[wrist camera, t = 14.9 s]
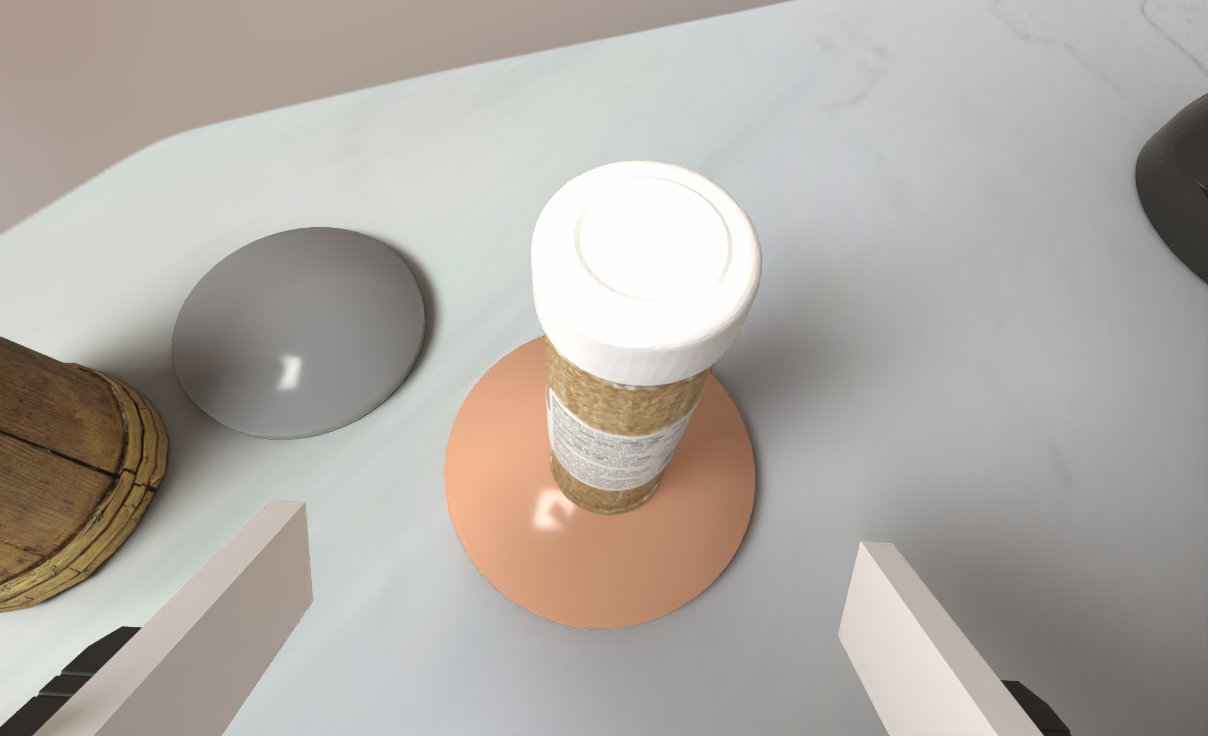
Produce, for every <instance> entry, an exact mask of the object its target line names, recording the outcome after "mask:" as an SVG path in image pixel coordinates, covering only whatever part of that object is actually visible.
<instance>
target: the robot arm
mask: <svg viewBox="0 0 1208 736" xmlns="http://www.w3.org/2000/svg"><path fill="white" fill-rule="evenodd" d="M1136 182H1137V188H1138V192H1139V196H1140V199H1141V202H1142V204H1143V206H1144V209H1145V211H1146V213H1147V215H1148V217H1149V218H1150V220H1151V222H1152V224H1153V225H1154V227H1155V228H1156V230H1157V231H1158V233H1159V234H1160V235H1161V237H1162V238H1163V239H1164V241H1165V242H1166V243H1167V244H1168V245H1169V247H1170V248H1171V249H1172V250H1173V251H1174V252H1175V253H1176V254H1177V255H1178V256H1179V258H1180V259H1181V260H1182V261H1183V262H1185V263H1186V264H1187V265H1188V266H1189V267H1190V268H1191V269H1192V270H1193V271H1194V272H1195V273H1197V274H1198V275H1199V276H1200V277H1201V278H1203V279H1204V280H1205V281H1206V282H1208V94H1206V95H1204V96H1202V97H1200V98H1198V99H1197V100H1195V101H1193V102H1192V103H1190V104H1189V105H1188V106H1186V107H1185V108H1183V109H1182V110H1181V111H1180V112H1179V113H1178V114H1176V115H1175V116H1174V117H1173V118H1172V119H1171V120H1170V121H1169V122H1168V123H1167V124H1166V125H1164V126H1163V127H1162V128H1161V129H1160V130H1159V131H1158V132H1157V133H1156V134H1155V135H1154V136H1152V137H1151V138H1150V139H1149V140H1148V141H1147V143H1146V144H1145V145H1144V147H1143V149H1142V150H1141V152H1140V155H1139V157H1138V161H1137V166H1136ZM312 602H313V596H312V583H311V570H310V557H309V544H308V531H307V518H306V505H305V502H295V501H280V500H271V501H270V502H269V503H268V504H267V505H266V506H265V507H264V508H263V509H262V510H261V511H260V512H259V513H258V514H257V515H256V516H255V517H254V518H253V519H252V520H251V521H250V522H249V523H248V524H247V525H246V526H245V527H244V528H243V529H242V530H241V531H240V532H239V533H238V534H237V535H236V536H235V537H234V538H233V539H232V540H231V541H230V542H229V543H228V544H227V545H226V546H225V547H224V548H223V549H222V550H221V551H220V552H219V553H218V554H217V555H216V556H215V557H214V558H213V559H212V560H211V561H209V562H208V563H207V564H206V565H205V566H204V567H203V568H202V569H201V570H200V571H199V572H198V573H197V574H196V575H195V576H194V577H193V578H192V579H191V580H190V581H189V582H188V583H187V584H186V585H185V586H184V587H183V588H182V589H181V590H180V591H179V592H178V593H177V594H176V595H175V596H174V597H173V598H172V599H171V600H170V601H169V602H168V603H167V604H166V605H165V606H164V607H163V608H162V609H161V610H160V611H159V612H158V613H157V614H156V615H155V616H154V617H153V618H152V619H151V620H150V621H149V622H148V623H146V624H145V625H144V626H143V627H142V628H141V627H125V626H122V627H120V628H119V629H117V630H115V631H114V632H112V633H110V634H108V635H107V636H105V637H103V638H102V639H100V640H98V641H97V642H95V643H93V644H91V645H90V646H88V647H87V648H86V649H85V650H84V651H83V652H82V653H80V654H79V655H78V656H77V657H76V658H75V659H74V660H73V661H72V662H71V663H70V664H69V665H67V666H66V667H65V668H64V669H63V670H62V672H61V675H60V676H55V677H54V678H53V679H52V680H51V681H50V682H49V683H48V684H47V685H46V686H45V687H43V688H42V689H41V690H40V691H39V695H38V696H37V697H33V698H31V699H30V700H29V701H28V702H27V703H26V704H25V705H24V706H23V707H22V708H21V709H19V710H18V711H17V712H16V713H15V714H14V715H13V716H12V717H11V718H10V719H9V720H7V721H6V722H5V723H4V724H3V725H2V726H1V727H0V736H221V735H222V734H223V733H224V731H225V730H226V728H227V727H228V725H229V724H230V722H231V721H232V719H233V718H234V716H235V715H236V713H237V712H238V710H239V709H240V708H241V706H242V705H243V703H244V702H245V700H246V699H247V697H248V696H249V694H250V693H251V691H252V690H253V688H254V687H255V685H256V684H257V683H258V681H259V680H260V678H261V677H262V675H263V674H264V672H265V671H266V669H267V668H268V666H269V665H270V663H271V662H272V660H273V659H274V657H275V656H276V655H277V653H278V652H279V650H280V649H281V647H282V646H283V644H284V643H285V641H286V640H287V638H288V637H289V635H290V634H291V632H292V631H293V630H294V628H295V627H296V625H297V624H298V622H299V621H300V619H301V618H302V616H303V615H304V613H305V612H306V610H307V609H308V607H309V606H310V604H311V603H312ZM838 637H839V638H840V640H841V642H842V644H843V646H844V648H845V650H846V652H847V654H848V656H849V658H850V660H851V662H852V664H853V666H854V668H855V670H856V672H857V674H858V676H859V678H860V680H861V681H862V683H863V685H864V687H865V689H866V691H867V693H868V695H869V697H870V699H871V701H872V703H873V705H874V707H875V709H876V711H877V713H878V715H879V717H880V719H881V721H882V723H883V725H884V726H885V728H886V730H887V732H888V734H889V736H1071V734H1070V730H1069V729H1068V728H1067V727H1066V725H1065V724H1064V723H1063V722H1062V721H1061V719H1060V718H1059V717H1058V716H1057V715H1056V714H1055V712H1054V711H1053V710H1052V709H1051V708H1050V706H1049V705H1048V704H1047V703H1045V702H1044V701H1043V700H1041V699H1040V698H1039V697H1038V696H1036V695H1035V694H1034V693H1033V692H1031V691H1030V690H1029V689H1027V688H1026V687H1025V686H1024V685H1022V684H1021V683H1020V682H1019V681H1004V680H1000V679H999V678H998V677H997V676H996V674H995V673H994V672H993V671H992V669H991V668H990V667H989V665H988V664H987V663H986V662H985V660H984V659H983V658H982V657H981V655H980V654H979V653H978V651H977V650H976V649H975V648H974V646H973V645H972V644H971V643H970V641H969V640H968V639H967V638H966V636H965V635H964V634H963V632H962V631H961V630H960V629H959V627H958V626H957V625H956V624H955V622H954V621H953V620H952V618H951V617H950V616H949V615H948V613H947V612H946V611H945V610H944V608H943V607H942V606H941V604H940V603H939V602H938V601H937V599H936V598H935V597H934V596H933V594H932V593H931V592H930V591H929V589H928V588H927V587H926V585H925V584H924V583H923V582H922V580H921V579H920V578H919V577H918V575H917V574H916V573H915V571H914V570H913V569H912V568H911V566H910V565H909V564H908V563H907V561H906V560H905V559H904V557H903V556H902V555H901V554H900V552H899V551H898V550H897V549H896V547H895V546H894V545H893V543H886V542H871V541H860V545H859V549H858V553H857V557H856V562H855V566H854V570H853V574H852V578H851V582H850V586H849V591H848V595H847V599H846V603H845V607H844V611H843V616H842V620H841V624H840V628H839V632H838Z"/></svg>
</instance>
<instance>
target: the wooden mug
mask: <svg viewBox="0 0 1208 736" xmlns="http://www.w3.org/2000/svg"><path fill="white" fill-rule="evenodd" d="M167 447H168V438H167V435H166V432H165V429H164V426H163V423H162V420H161V417H160V415H159V414H158V413H157V411H156V410H155V408H154V407H153V405H152V404H151V403H150V401H149V400H148V398H147V397H146V396H144V395H143V394H142V393H140V392H139V391H137V390H136V389H135V388H133V387H132V386H130V385H129V384H127V383H125V382H123V381H120V380H118V379H116V378H113V377H111V376H108V375H106V374H104V373H101V372H99V371H96V370H94V369H91V368H88V367H85V366H82V365H79V364H76V363H62V362H60V361H58V360H55V359H53V358H51V357H48V356H46V355H43V354H41V353H39V352H36V351H34V350H31V349H29V348H27V347H24V346H22V345H20V344H17V343H15V342H12V341H10V340H8V339H5V338H3V337H0V613H1V612H7V611H13V610H18V609H24V608H30V607H32V606H34V605H36V604H38V603H40V602H42V601H44V600H45V599H47V598H49V597H51V596H53V595H55V594H57V593H59V592H61V591H63V590H64V589H66V588H68V587H70V586H72V585H74V584H76V583H78V582H80V581H82V580H83V579H85V578H87V577H88V576H89V575H90V574H91V573H92V572H93V571H94V570H95V569H96V568H97V567H98V566H99V565H100V564H101V563H102V562H104V561H105V560H106V559H107V558H109V557H110V556H111V555H112V554H113V553H115V551H116V550H117V549H118V548H119V547H120V546H121V545H122V544H123V542H124V541H125V540H126V539H127V538H128V537H129V536H130V534H131V533H132V532H133V531H134V529H135V528H136V526H137V524H138V523H139V521H140V519H141V518H142V516H143V514H144V513H145V511H146V509H147V507H148V506H149V504H150V502H151V501H152V499H153V497H154V494H155V492H156V490H157V488H158V486H159V483H160V481H161V479H162V477H163V475H164V472H165V464H166V455H167Z"/></svg>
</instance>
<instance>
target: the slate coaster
mask: <svg viewBox="0 0 1208 736" xmlns="http://www.w3.org/2000/svg"><path fill="white" fill-rule="evenodd" d="M425 325H426V323H425V309H424V304H423V299H422V296H421V294H420V291H419V288H418V286H417V283H416V281H415V278H414V276H413V275H412V273H411V271H410V269H409V268H408V266H407V265H406V264H405V263H404V261H403V260H402V259H401V258H400V257H399V256H398V255H397V254H396V253H395V252H394V251H393V250H391V249H390V248H388V247H387V246H385V245H384V244H383V243H381V242H379V241H377V240H375V239H373V238H371V237H369V236H366V235H363V234H360V233H358V232H354V231H349V230H345V229H338V228H330V227H311V228H300V229H294V230H288V231H284V232H280V233H276V234H273V235H269V236H267V237H264V238H261V239H259V240H256V241H254V242H252V243H250V244H248V245H246V246H244V247H242V248H240V249H238V250H237V251H235V252H234V253H232V254H230V255H229V256H227V257H226V258H225V259H223V260H222V261H221V262H219V263H218V264H217V265H215V266H214V267H213V268H212V269H211V270H210V271H209V272H208V273H207V274H206V275H205V276H204V277H203V278H202V279H201V280H200V281H199V282H198V284H197V285H196V286H195V287H194V288H193V290H192V291H191V293H190V294H189V296H188V297H187V299H186V300H185V302H184V304H183V306H182V308H181V310H180V312H179V315H178V318H177V321H176V324H175V327H174V332H173V338H172V359H173V365H174V369H175V372H176V375H177V378H178V381H179V382H180V384H181V386H182V388H183V389H184V391H185V393H186V394H187V395H188V396H189V398H190V399H191V400H192V401H193V402H194V403H195V404H196V405H197V406H198V407H199V408H201V409H202V410H203V411H204V412H205V413H207V414H208V415H209V416H211V417H212V418H213V419H215V420H216V421H218V422H220V423H221V424H223V425H225V426H226V427H228V428H230V429H233V430H235V431H238V432H240V433H242V434H246V435H250V436H254V437H258V438H266V439H299V438H307V437H312V436H316V435H320V434H325V433H328V432H331V431H333V430H336V429H339V428H342V427H344V426H346V425H348V424H350V423H352V422H354V421H356V420H358V419H360V418H362V417H363V416H365V415H366V414H368V413H369V412H371V411H373V410H374V409H375V408H376V407H378V406H379V405H380V404H382V403H383V402H384V401H385V400H386V399H387V398H388V397H389V396H390V395H391V394H392V393H393V392H394V391H395V390H396V389H397V388H398V387H399V386H400V385H401V383H402V382H403V381H404V379H405V378H406V377H407V375H408V374H409V372H410V370H411V369H412V367H413V366H414V364H415V362H416V359H417V357H418V355H419V352H420V350H421V346H422V343H423V339H424V333H425Z"/></svg>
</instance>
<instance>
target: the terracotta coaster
mask: <svg viewBox="0 0 1208 736" xmlns="http://www.w3.org/2000/svg"><path fill="white" fill-rule="evenodd" d="M545 353H546V345H545V336H542V337H539V338H537V339H534V340H532V341H530V342H528V343H526V344H524V345H522V346H520V347H519V348H517V349H515V350H514V351H512V352H511V353H509V354H508V355H506V356H505V357H503V358H502V359H501V360H500V361H499V362H497V363H496V364H495V365H494V366H493V367H491V368H490V369H489V370H488V371H487V372H486V374H485V375H484V376H483V377H482V378H481V379H480V380H479V381H478V382H477V384H476V385H475V386H474V388H473V389H472V390H471V392H470V393H469V395H468V396H467V397H466V399H465V401H464V403H463V405H462V407H461V408H460V410H459V412H458V414H457V417H456V419H455V422H454V424H453V427H452V430H451V433H450V437H449V441H448V445H447V450H446V458H445V468H444V477H445V493H446V499H447V504H448V510H449V513H450V516H451V519H452V522H453V525H454V528H455V531H456V533H457V535H458V537H459V539H460V541H461V543H462V545H463V547H464V549H465V551H466V553H467V554H468V555H469V557H470V558H471V560H472V561H473V563H474V564H475V566H476V567H477V568H478V570H479V571H480V572H481V573H482V574H483V575H484V576H485V577H486V579H487V580H488V581H489V582H490V583H491V584H492V585H493V586H494V587H495V588H496V589H497V590H498V591H500V592H501V593H502V594H503V595H505V596H506V597H507V598H508V599H510V600H511V601H512V602H514V603H515V604H517V605H519V606H520V607H522V608H524V609H525V610H527V611H529V612H530V613H533V614H535V615H538V616H540V617H542V618H545V619H547V620H549V621H552V622H556V623H560V624H564V625H567V626H571V627H579V628H587V629H617V628H623V627H629V626H635V625H639V624H642V623H646V622H649V621H652V620H655V619H658V618H660V617H662V616H664V615H666V614H668V613H670V612H672V611H675V610H677V609H678V608H680V607H682V606H683V605H685V604H686V603H688V602H689V601H691V600H692V599H693V598H695V597H696V596H698V595H699V594H700V593H702V592H703V591H704V590H705V589H706V588H707V587H708V586H709V585H710V584H711V583H713V582H714V581H715V580H716V579H717V577H718V576H719V575H720V574H721V572H722V571H723V570H724V569H725V568H726V566H727V565H728V564H729V562H730V561H731V559H732V557H733V556H734V554H735V552H736V551H737V549H738V548H739V546H740V544H741V541H742V539H743V537H744V534H745V532H746V530H747V527H748V524H749V520H750V516H751V513H752V509H753V502H754V495H755V464H754V457H753V450H752V446H751V442H750V439H749V435H748V431H747V429H746V426H745V424H744V422H743V419H742V417H741V415H740V413H739V411H738V409H737V407H736V406H735V404H734V402H733V400H732V399H731V397H730V396H729V394H728V393H727V392H726V390H725V389H724V388H723V386H722V385H721V384H720V382H719V381H718V380H717V379H716V378H715V377H714V376H713V375H712V374H711V373H710V374H709V376H708V378H707V381H706V385H705V388H704V391H703V394H702V396H701V398H700V400H699V402H698V404H697V406H696V408H695V410H694V412H693V414H692V416H691V418H690V420H689V422H688V424H687V427H686V429H685V431H684V433H683V435H682V437H681V439H680V441H679V443H678V445H677V447H676V449H675V452H674V454H673V455H672V457H671V459H670V461H669V462H668V464H667V465H666V469H665V472H664V476H663V478H662V480H661V482H660V485H659V487H658V488H657V489H656V490H655V492H654V494H653V495H652V496H651V498H649V499H648V500H647V501H646V502H645V503H643V504H642V505H640V506H638V507H637V508H635V509H633V510H631V511H628V512H625V513H621V514H614V515H603V514H596V513H592V512H589V511H587V510H585V509H582V508H580V507H578V506H577V505H576V504H575V503H573V502H571V501H570V500H568V499H567V498H566V497H565V496H564V494H563V493H562V491H561V490H560V489H559V487H558V485H557V484H556V482H555V480H554V478H553V474H552V471H551V468H550V459H549V450H550V445H551V443H550V439H549V431H548V419H547V406H546V387H547V372H546V362H545Z"/></svg>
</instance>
